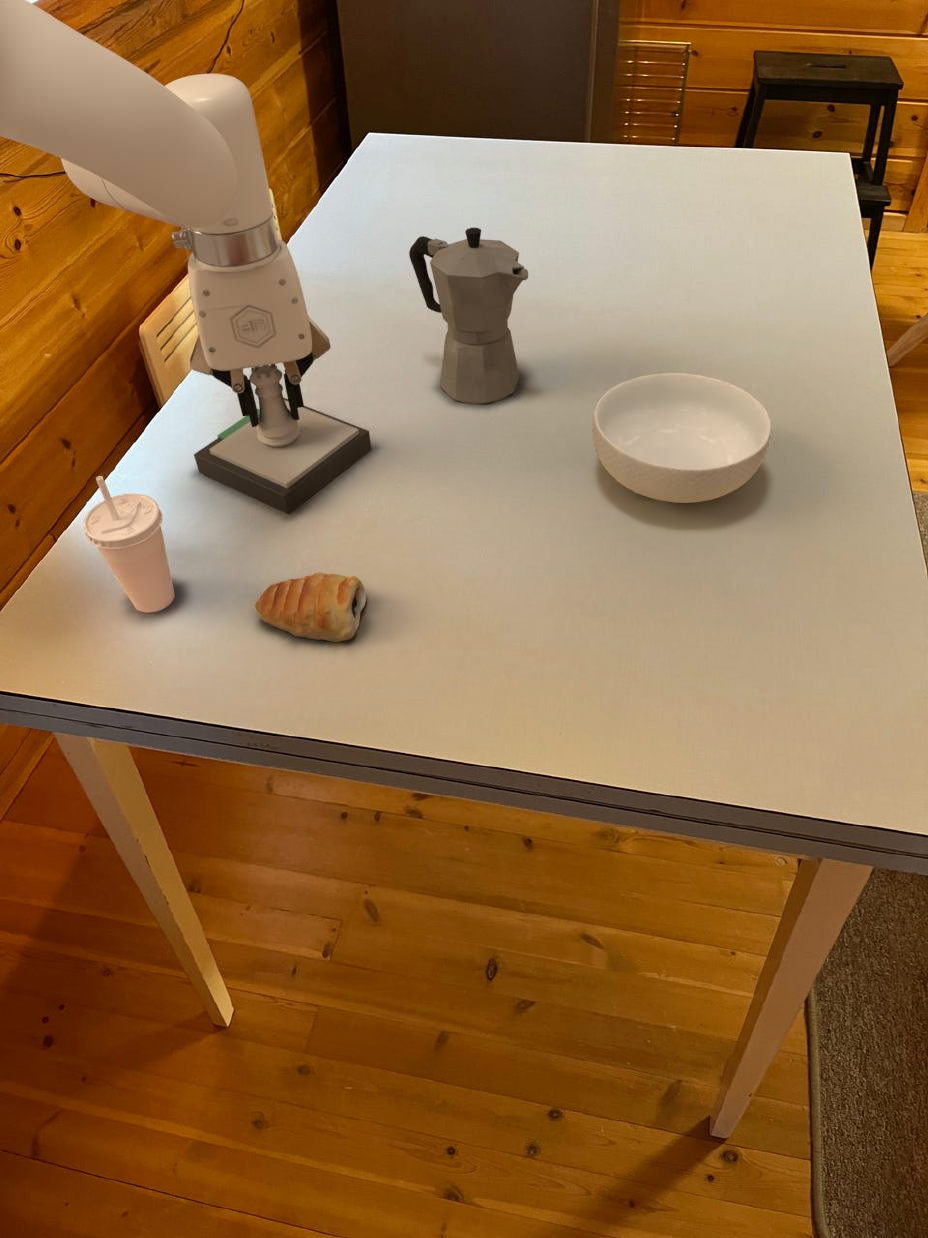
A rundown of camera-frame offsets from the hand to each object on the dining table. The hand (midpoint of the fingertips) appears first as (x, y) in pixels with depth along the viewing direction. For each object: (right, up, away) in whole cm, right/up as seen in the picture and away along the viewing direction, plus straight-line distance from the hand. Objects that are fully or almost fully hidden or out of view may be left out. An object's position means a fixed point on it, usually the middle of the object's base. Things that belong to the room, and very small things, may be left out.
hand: (274, 414), depth 94 cm
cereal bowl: (+40, -6, -1) cm, 41 cm away
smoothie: (-9, -19, -10) cm, 23 cm away
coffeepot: (+20, +7, +14) cm, 25 cm away
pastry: (+7, -21, -12) cm, 25 cm away
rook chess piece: (0, -2, +2) cm, 3 cm away
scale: (0, -4, +4) cm, 6 cm away
